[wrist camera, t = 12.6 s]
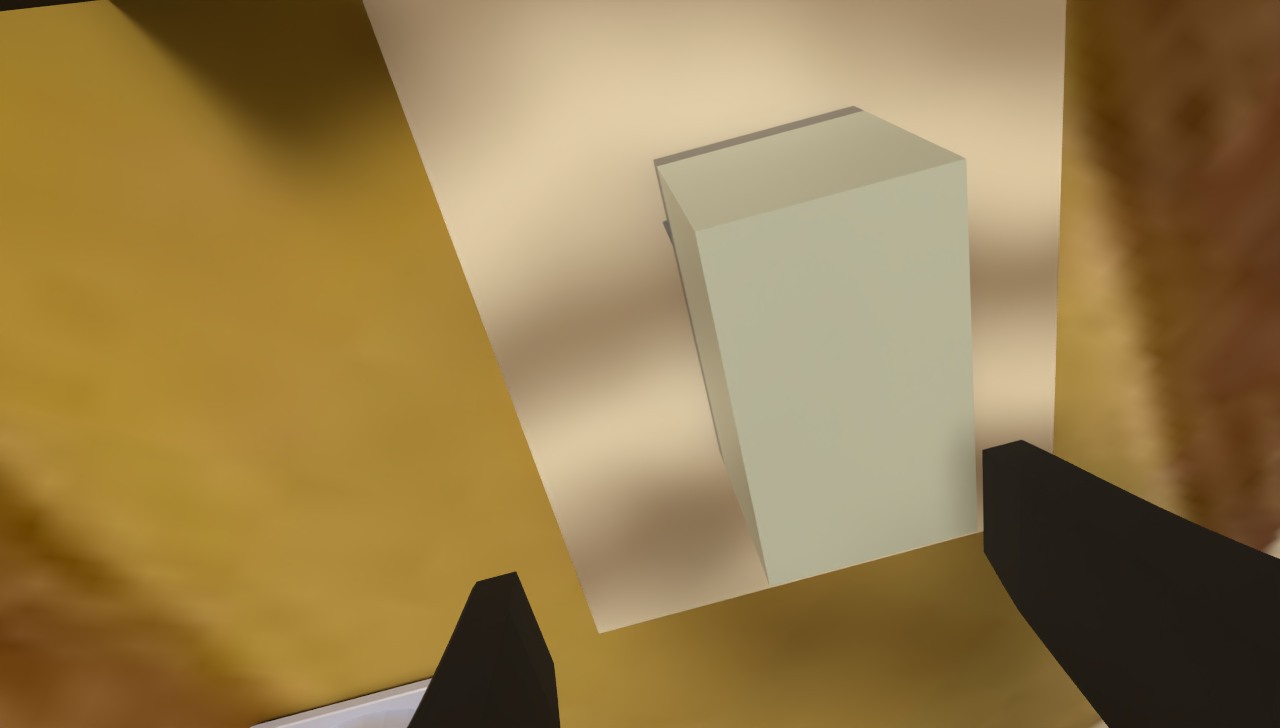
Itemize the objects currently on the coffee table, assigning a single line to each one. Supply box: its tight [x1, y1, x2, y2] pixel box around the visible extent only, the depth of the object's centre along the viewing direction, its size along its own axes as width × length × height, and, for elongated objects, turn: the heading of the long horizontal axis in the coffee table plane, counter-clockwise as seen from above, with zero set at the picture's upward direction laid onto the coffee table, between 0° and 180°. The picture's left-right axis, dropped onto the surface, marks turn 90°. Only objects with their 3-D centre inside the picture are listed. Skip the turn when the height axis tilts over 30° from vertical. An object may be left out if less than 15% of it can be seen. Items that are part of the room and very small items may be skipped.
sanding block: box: [653, 106, 978, 586], centre depth 17 cm, size 8×4×5 cm, turn 13°
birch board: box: [362, 0, 1066, 633], centre depth 19 cm, size 18×14×1 cm
